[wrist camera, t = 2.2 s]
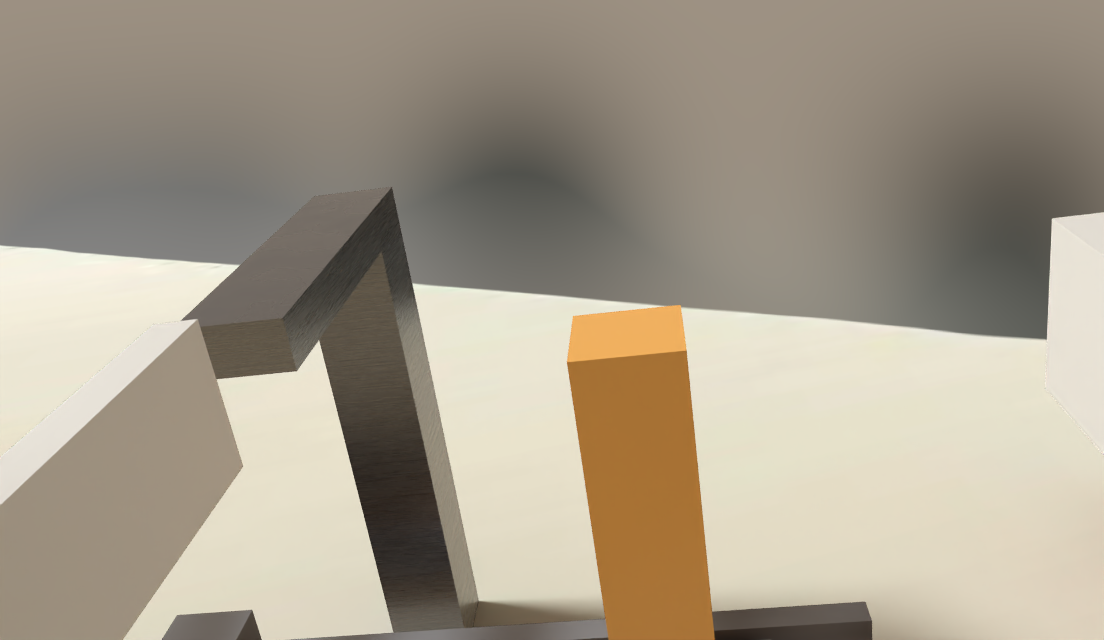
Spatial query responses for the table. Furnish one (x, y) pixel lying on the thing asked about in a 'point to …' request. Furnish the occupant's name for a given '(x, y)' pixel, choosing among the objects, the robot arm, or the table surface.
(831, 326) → the table surface
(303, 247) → the hook
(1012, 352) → the table surface
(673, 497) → the handle
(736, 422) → the table surface
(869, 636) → the track
